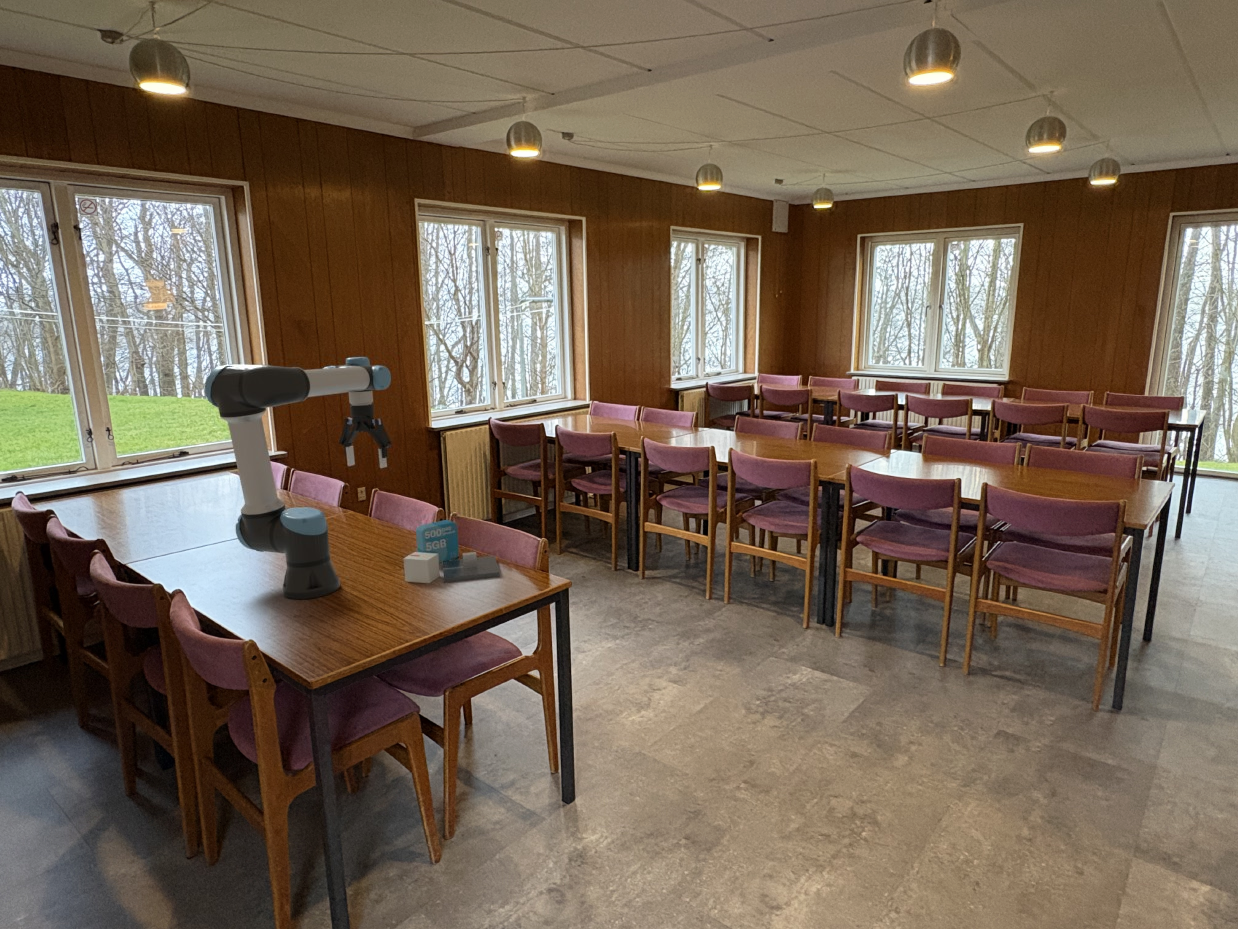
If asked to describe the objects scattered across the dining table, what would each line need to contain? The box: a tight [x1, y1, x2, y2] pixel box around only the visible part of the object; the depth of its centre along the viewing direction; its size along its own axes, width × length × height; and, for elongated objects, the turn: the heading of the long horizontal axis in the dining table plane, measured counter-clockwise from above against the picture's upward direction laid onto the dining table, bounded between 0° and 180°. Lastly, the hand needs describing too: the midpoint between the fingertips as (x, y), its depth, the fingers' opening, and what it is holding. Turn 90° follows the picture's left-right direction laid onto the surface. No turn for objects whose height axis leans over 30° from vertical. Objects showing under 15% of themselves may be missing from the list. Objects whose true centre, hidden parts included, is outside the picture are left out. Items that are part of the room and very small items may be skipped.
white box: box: [403, 551, 441, 584], centre depth 227 cm, size 6×8×7 cm
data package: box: [415, 519, 460, 564], centre depth 243 cm, size 12×4×12 cm, turn 130°
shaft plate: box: [442, 551, 501, 584], centre depth 233 cm, size 16×16×6 cm
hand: (367, 466), depth 262 cm, fingers open, 13 cm apart
